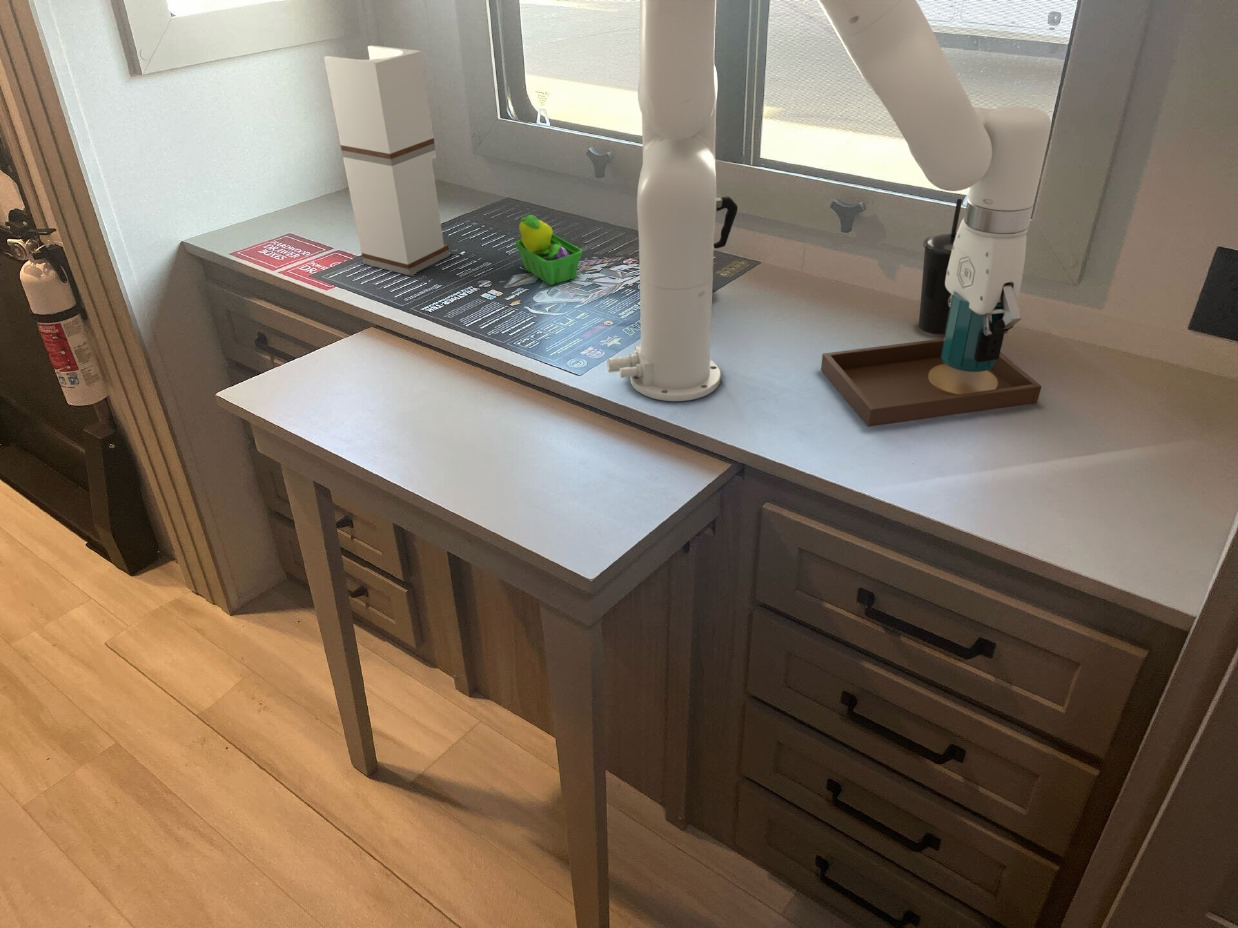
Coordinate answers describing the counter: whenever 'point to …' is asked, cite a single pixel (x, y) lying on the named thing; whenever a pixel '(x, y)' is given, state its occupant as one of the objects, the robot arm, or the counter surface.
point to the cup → (964, 336)
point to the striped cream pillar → (389, 156)
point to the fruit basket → (546, 252)
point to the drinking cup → (937, 279)
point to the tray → (916, 383)
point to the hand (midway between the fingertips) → (970, 345)
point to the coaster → (961, 380)
